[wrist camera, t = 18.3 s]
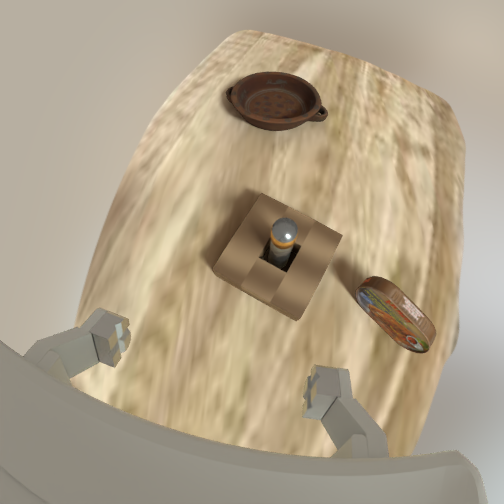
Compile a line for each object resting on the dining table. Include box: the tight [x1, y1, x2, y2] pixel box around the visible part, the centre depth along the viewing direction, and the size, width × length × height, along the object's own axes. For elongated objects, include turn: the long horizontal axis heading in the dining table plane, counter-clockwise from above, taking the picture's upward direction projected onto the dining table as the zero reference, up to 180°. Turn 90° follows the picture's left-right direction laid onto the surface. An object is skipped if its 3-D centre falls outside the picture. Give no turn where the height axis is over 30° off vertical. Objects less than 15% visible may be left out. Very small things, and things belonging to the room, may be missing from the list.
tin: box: [355, 276, 436, 353], centre depth 37 cm, size 15×3×8 cm, turn 45°
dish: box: [226, 72, 328, 131], centre depth 53 cm, size 18×22×5 cm
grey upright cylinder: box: [268, 218, 298, 269], centre depth 39 cm, size 3×3×12 cm
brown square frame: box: [212, 193, 343, 321], centre depth 43 cm, size 14×14×4 cm
